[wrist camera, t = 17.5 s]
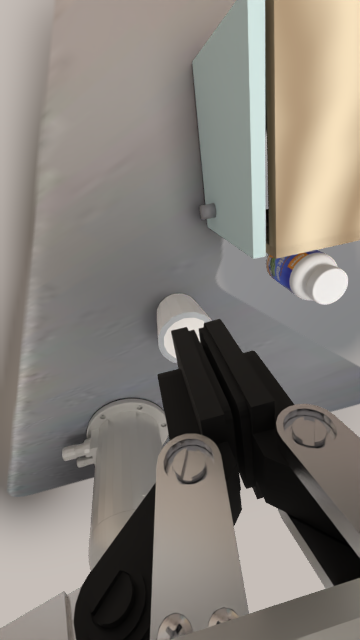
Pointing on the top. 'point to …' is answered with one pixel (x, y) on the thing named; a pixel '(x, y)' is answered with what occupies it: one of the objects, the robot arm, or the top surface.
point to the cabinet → (312, 124)
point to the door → (234, 127)
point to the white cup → (177, 321)
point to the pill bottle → (309, 276)
